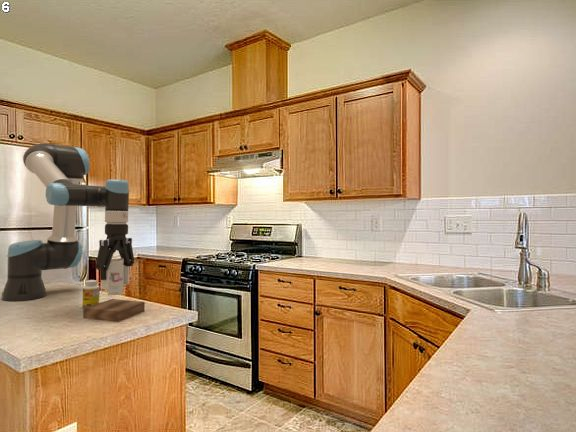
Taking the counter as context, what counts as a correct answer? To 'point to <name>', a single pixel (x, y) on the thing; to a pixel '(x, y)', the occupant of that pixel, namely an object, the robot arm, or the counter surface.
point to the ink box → (116, 277)
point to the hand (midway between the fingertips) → (115, 286)
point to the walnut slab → (113, 310)
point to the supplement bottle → (90, 293)
